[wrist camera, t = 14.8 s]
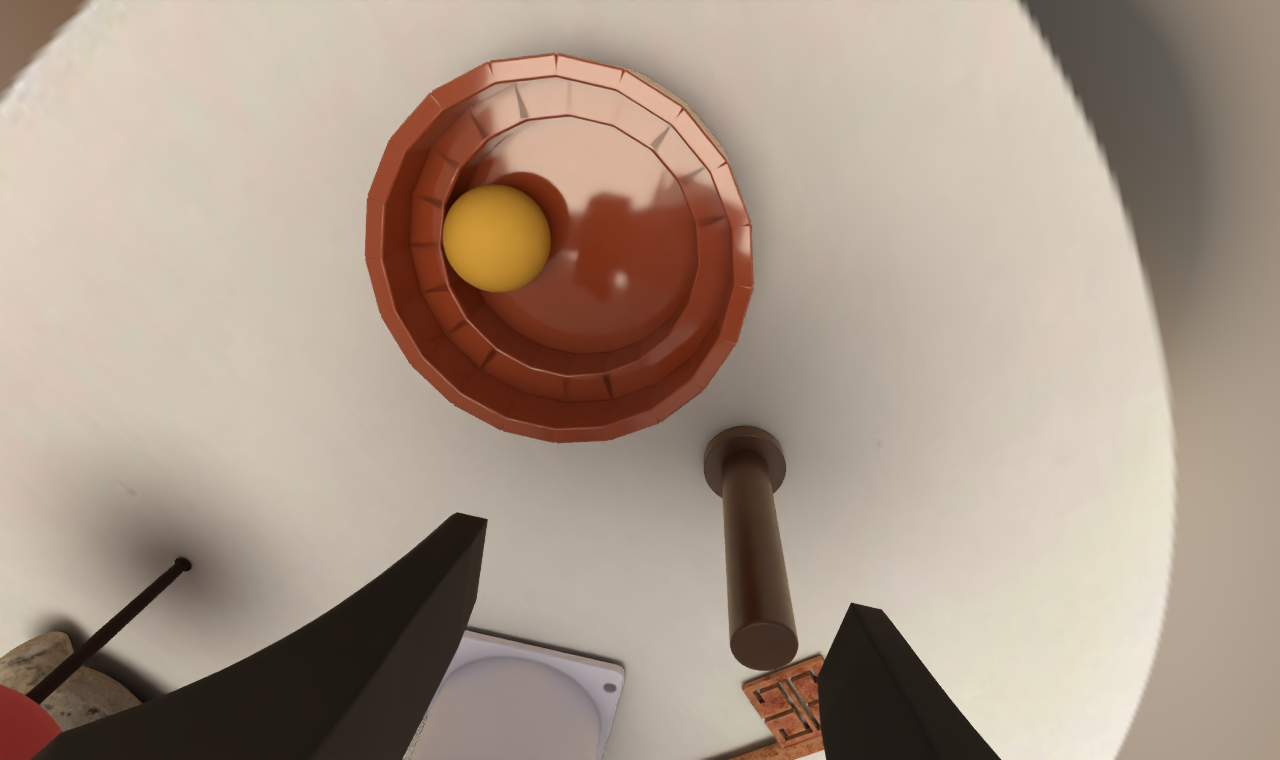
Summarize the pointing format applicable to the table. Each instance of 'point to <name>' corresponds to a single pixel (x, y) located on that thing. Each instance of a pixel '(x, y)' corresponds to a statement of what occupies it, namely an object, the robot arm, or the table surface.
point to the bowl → (565, 248)
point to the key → (787, 712)
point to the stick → (753, 546)
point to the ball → (496, 238)
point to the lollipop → (18, 726)
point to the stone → (78, 695)
